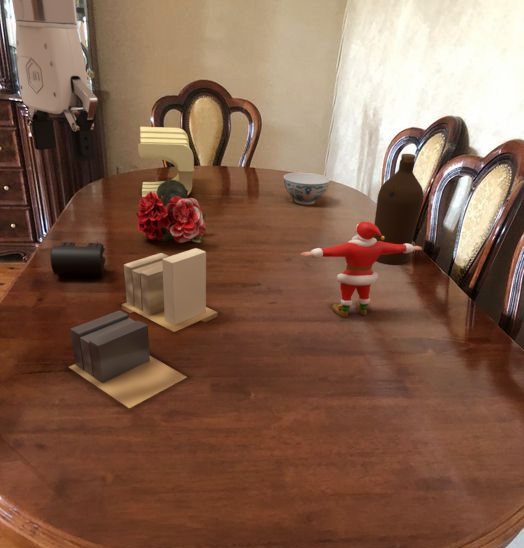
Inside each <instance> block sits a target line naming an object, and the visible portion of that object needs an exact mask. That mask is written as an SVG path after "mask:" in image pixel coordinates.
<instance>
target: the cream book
mask: <svg viewBox="0 0 524 548" xmlns="http://www.w3.org/2000/svg"><path fill="white" fill-rule="evenodd" d="M162 265H163V288H164V311H165V321H167V322H169V323H171V324H173V325H176V324H179V323H181V322H183V321H185V320H188V319H190V318H192V317H195V316H197V315H199V314H201V313H204V312H206V307H207V251H205V250H203V249H200V248H197V247H195V248H191V249H189V250H185V251H182V252H179V253H176V254H173V255H169V257H166V258H163V259H162Z"/></svg>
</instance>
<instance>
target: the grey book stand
mask: <svg viewBox="0 0 524 548" xmlns="http://www.w3.org/2000/svg"><path fill="white" fill-rule="evenodd" d="M69 331H70V337H71V344H72V349H73V357H74V363H73V364H72V365H69V366H68V368H69V369H70V370H72V371H73V372H75V373H76V374H77V375H80V376H81V377H82V378H84V379H85V380H87V382H90V383H91V384H92V385H93V386H96V387H97V388H98V389H100V390H101V391H103V392H104V393H106V394H107V395H109V396H110V397H111V398H113V399H114V400H116V401H117V402H119V403H120V404H122V405H124V407H126V408H128V409H131V408H133V407H135V406H137V405H138V404H141V403H143V402H144V401H146V400H148V399H150V398H152V397H153V396H156V395H157V394H159V393H161V392H163V391H164V390H166V389H168V388H170V387H172V386H173V385H176V384H177V383H179V382H181V381H183V380H184V379H186V378H188V377H187V376H186V375H185V374H183V373H181V372H180V371H177V370H176V369H174V368H172V367H171V366H169V365H167V364H165V363H163V362H162V361H160V360H158V359H157V358H155V357H153V356H152V355H151V354H150V339H149V325H148V324H147V323H144V322H143V321H141V320H134V319H133V318H131V317H129V314H128V313H126V312H124V311H122V310H117V311H114V312H110V313H108V314H106V315H103V316H100V317H98V318H94V319H92V320H90V321H87V322H85V323H82V324H79V325H77V326H74V327H71V328H69Z"/></svg>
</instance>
